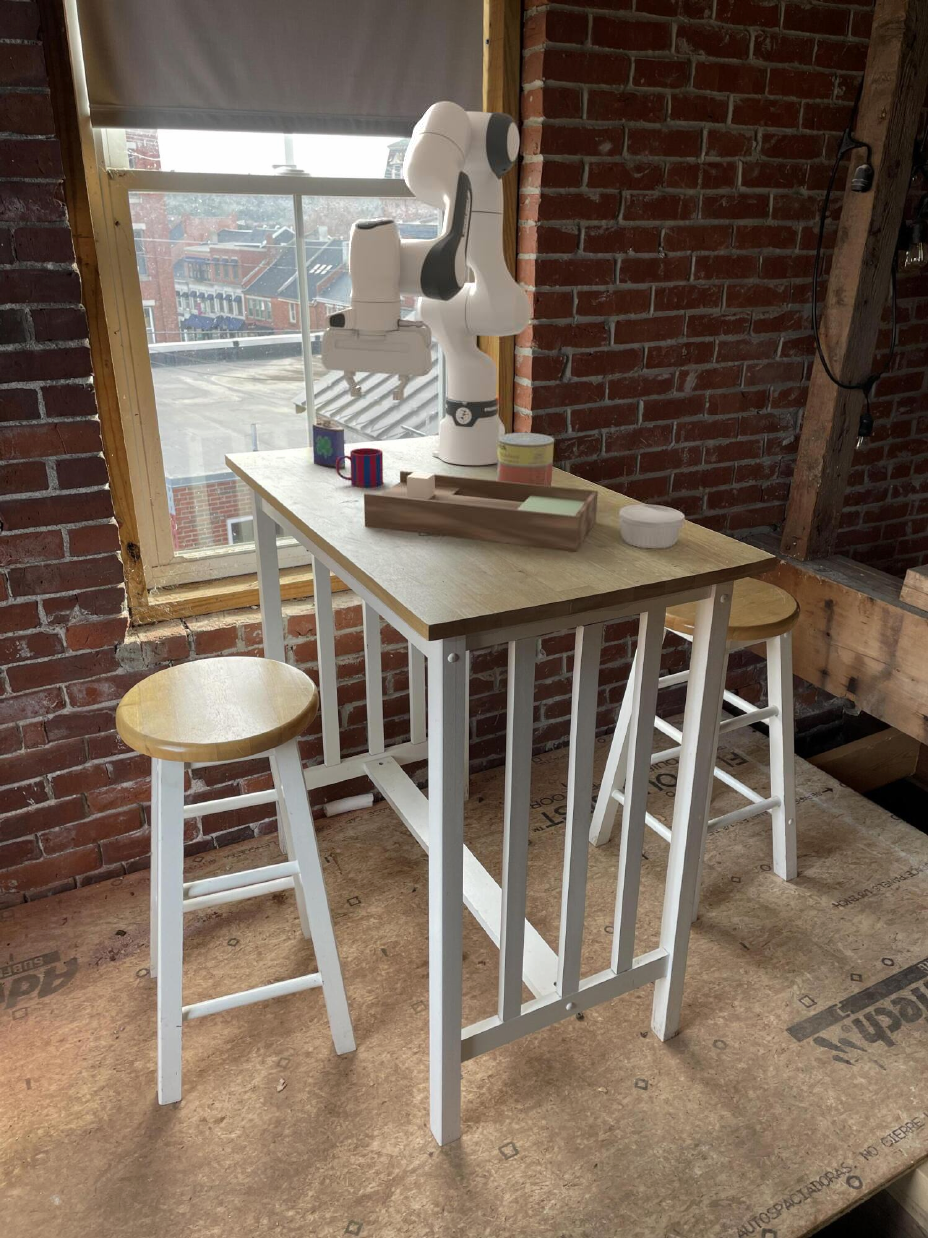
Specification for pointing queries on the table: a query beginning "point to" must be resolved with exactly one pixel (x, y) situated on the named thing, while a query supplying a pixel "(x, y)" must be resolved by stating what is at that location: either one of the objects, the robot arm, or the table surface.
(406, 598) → the table surface
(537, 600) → the table surface
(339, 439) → the flask
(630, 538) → the ramekin
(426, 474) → the block
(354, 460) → the mug
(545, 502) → the box
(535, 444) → the canned food
